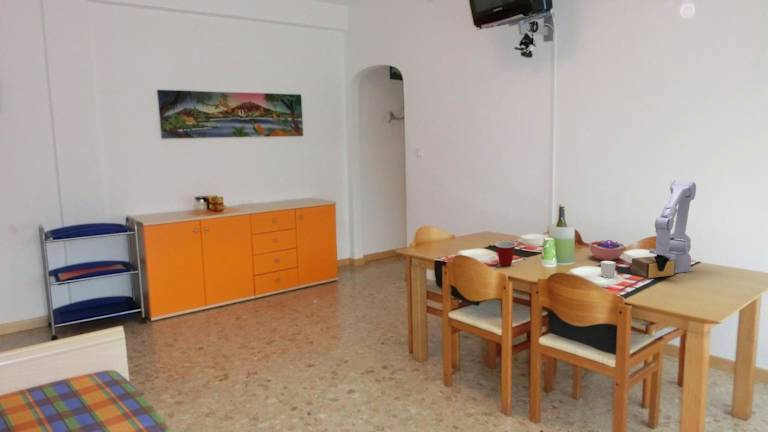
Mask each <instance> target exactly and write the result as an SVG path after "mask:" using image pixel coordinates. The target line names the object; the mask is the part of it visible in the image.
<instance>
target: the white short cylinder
mask: <svg viewBox="0 0 768 432" xmlns="http://www.w3.org/2000/svg"><path fill="white" fill-rule="evenodd" d="M616 266H617V261H614V260H611V261H605V260H602V261H600V272H601V273H600V274H601V275H602V276H605V277H613V278H615V273H616V272H615V271H616ZM602 276H601V277H602ZM605 277H604V278H605Z"/></svg>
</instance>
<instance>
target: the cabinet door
mask: <svg viewBox="0 0 768 432" xmlns="http://www.w3.org/2000/svg"><path fill="white" fill-rule="evenodd" d="M675 263H676V261H671V262H667V264H666V266H665V268H664V271H661V272H660V271H659V270H658V265H657V263H654V264H649V276H648V277H647V278H649V279H654V278H661V277H668V276H669V277H670V276H675V275H676V273H675Z"/></svg>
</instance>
